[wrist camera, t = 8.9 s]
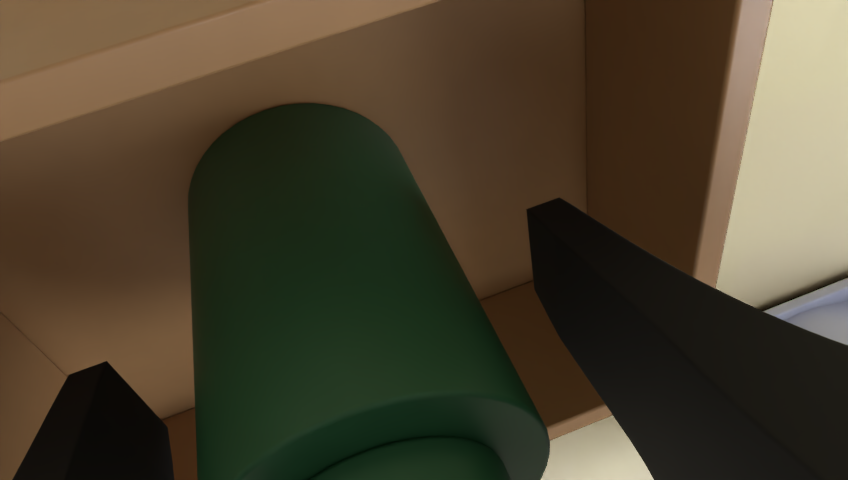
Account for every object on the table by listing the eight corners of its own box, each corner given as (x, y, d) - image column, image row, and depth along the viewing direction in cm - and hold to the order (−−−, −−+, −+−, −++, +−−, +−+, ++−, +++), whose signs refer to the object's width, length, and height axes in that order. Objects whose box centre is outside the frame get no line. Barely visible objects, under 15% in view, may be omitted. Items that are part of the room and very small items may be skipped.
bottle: (380, 70, 12) (673, 560, 5) (425, 241, 15) (643, 687, 8) (143, 148, 11) (102, 809, 4) (241, 308, 14) (304, 842, 8)
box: (600, -208, 10) (811, -172, 7) (597, 255, 18) (698, 381, 15) (-287, 53, 9) (-570, 258, 6) (116, 436, 17) (101, 623, 13)
